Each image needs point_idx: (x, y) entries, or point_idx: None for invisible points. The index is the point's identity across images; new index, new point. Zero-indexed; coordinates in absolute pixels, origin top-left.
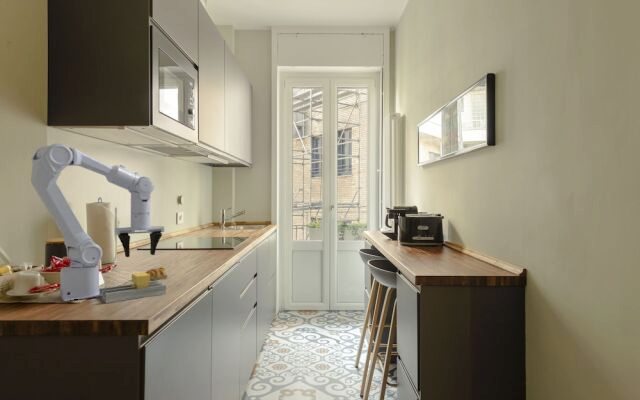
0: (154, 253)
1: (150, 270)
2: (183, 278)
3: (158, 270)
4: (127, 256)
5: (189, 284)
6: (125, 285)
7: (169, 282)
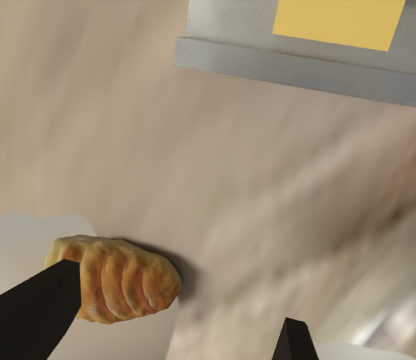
0: (55, 263)
1: (109, 302)
2: (3, 174)
3: None
4: (304, 326)
5: (11, 15)
6: (391, 80)
7: (82, 148)
